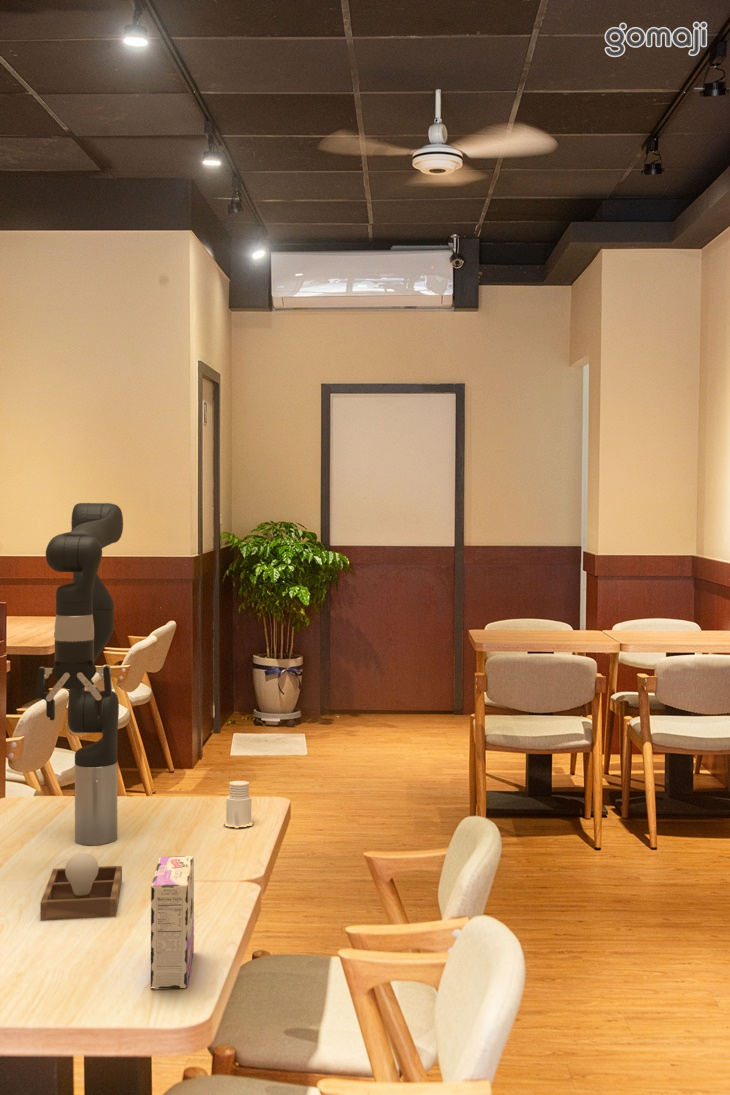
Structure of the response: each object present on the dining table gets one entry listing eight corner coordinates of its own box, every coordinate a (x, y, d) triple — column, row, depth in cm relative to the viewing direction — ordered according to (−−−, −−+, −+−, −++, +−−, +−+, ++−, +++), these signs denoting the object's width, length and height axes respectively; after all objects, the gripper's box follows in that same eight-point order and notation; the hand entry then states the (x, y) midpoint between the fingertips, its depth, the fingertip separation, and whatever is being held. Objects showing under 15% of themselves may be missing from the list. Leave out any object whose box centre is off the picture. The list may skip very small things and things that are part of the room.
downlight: (251, 830, 246) (252, 786, 246) (221, 829, 246) (221, 786, 246) (255, 821, 254) (256, 779, 254) (226, 821, 254) (226, 779, 254)
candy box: (159, 953, 177) (159, 855, 176) (194, 952, 177) (195, 854, 177) (149, 990, 163) (149, 884, 163) (188, 989, 164) (188, 883, 163)
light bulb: (89, 914, 191) (89, 859, 191) (59, 911, 192) (59, 857, 192) (104, 902, 197) (104, 849, 196) (74, 900, 198) (74, 847, 198)
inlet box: (53, 889, 206) (53, 868, 206) (121, 885, 208) (121, 865, 208) (40, 924, 188) (40, 902, 188) (115, 920, 191) (115, 898, 190)
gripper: (112, 634, 215) (112, 714, 216) (39, 635, 213) (39, 716, 213) (110, 639, 208) (110, 722, 208) (34, 640, 205) (34, 723, 206)
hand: (74, 719), depth 211 cm, fingers open, 8 cm apart
